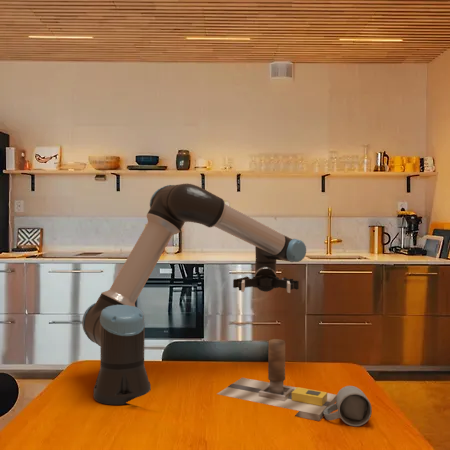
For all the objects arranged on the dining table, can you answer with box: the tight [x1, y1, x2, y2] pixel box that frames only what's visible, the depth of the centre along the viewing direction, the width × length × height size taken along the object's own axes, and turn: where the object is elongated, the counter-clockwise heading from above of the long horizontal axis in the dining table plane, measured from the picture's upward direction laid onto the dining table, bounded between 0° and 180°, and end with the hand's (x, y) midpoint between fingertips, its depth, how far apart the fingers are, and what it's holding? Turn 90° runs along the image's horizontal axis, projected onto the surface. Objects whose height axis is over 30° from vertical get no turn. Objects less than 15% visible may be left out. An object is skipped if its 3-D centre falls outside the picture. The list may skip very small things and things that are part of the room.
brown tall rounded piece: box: [267, 338, 286, 395], centre depth 127 cm, size 4×4×14 cm
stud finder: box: [292, 386, 328, 406], centre depth 123 cm, size 8×4×2 cm, turn 61°
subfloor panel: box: [216, 377, 337, 422], centre depth 127 cm, size 28×15×3 cm, turn 62°
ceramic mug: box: [323, 385, 373, 427], centre depth 116 cm, size 11×8×8 cm
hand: (265, 287), depth 142 cm, fingers open, 13 cm apart
